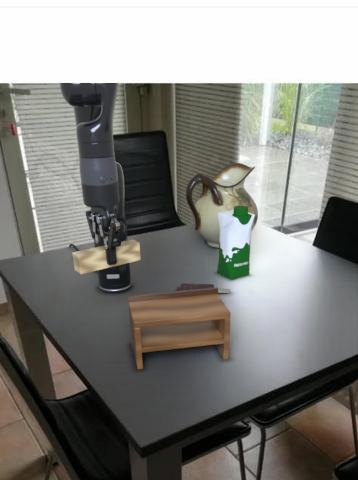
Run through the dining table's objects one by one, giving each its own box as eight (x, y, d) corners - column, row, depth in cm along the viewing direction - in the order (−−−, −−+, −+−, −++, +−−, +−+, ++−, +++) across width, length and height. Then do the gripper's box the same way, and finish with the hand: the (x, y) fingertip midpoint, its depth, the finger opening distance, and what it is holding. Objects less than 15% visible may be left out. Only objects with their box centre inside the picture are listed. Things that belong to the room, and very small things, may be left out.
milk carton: (230, 281, 141) (233, 211, 130) (212, 272, 148) (214, 205, 137) (253, 275, 145) (258, 206, 134) (235, 266, 152) (238, 200, 140)
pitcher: (260, 236, 177) (266, 162, 163) (248, 257, 159) (253, 176, 145) (202, 232, 183) (202, 160, 169) (184, 252, 165) (182, 173, 150)
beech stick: (133, 256, 113) (132, 239, 110) (140, 260, 111) (139, 242, 108) (74, 270, 106) (72, 252, 104) (80, 274, 104) (78, 256, 101)
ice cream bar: (230, 290, 136) (178, 288, 138) (230, 284, 135) (178, 283, 137) (230, 297, 132) (176, 296, 134) (230, 291, 131) (175, 290, 133)
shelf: (132, 345, 111) (127, 295, 104) (216, 335, 114) (217, 287, 107) (137, 369, 102) (133, 317, 95) (228, 359, 105) (230, 307, 98)
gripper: (132, 183, 95) (138, 267, 105) (100, 172, 105) (108, 250, 114) (98, 188, 92) (107, 274, 101) (68, 176, 101) (79, 257, 111)
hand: (108, 261), depth 108 cm, fingers closed on beech stick, 3 cm apart
